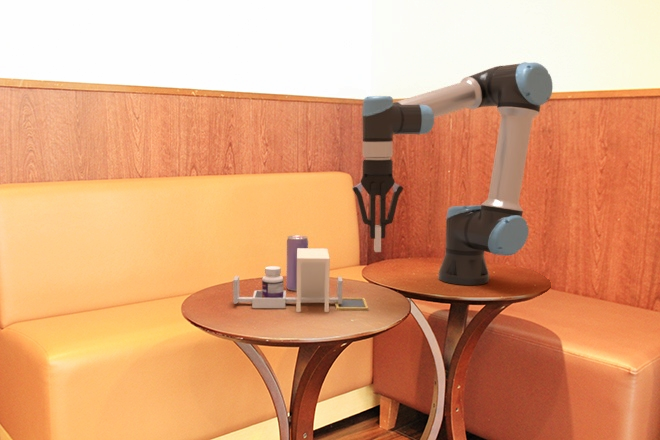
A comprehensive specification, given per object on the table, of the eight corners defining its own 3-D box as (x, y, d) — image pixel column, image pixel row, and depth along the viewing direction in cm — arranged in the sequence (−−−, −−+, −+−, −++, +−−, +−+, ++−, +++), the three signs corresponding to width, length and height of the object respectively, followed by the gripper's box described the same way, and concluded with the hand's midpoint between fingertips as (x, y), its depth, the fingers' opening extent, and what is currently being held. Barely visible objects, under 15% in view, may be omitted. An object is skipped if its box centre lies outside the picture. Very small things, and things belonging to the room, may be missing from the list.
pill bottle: (261, 302, 167) (261, 265, 166) (282, 301, 168) (282, 265, 167) (262, 307, 162) (262, 270, 161) (284, 307, 163) (284, 269, 161)
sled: (340, 300, 170) (341, 275, 169) (342, 308, 162) (343, 282, 161) (235, 299, 169) (235, 274, 168) (232, 307, 160) (232, 281, 160)
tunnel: (326, 298, 173) (327, 248, 171) (328, 312, 159) (329, 258, 157) (296, 297, 172) (297, 248, 170) (296, 312, 158) (296, 258, 157)
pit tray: (364, 300, 171) (364, 297, 171) (368, 310, 161) (368, 307, 161) (334, 299, 171) (334, 297, 171) (336, 310, 161) (336, 307, 161)
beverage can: (304, 292, 179) (305, 238, 177) (284, 290, 180) (284, 237, 178) (309, 287, 184) (310, 235, 182) (289, 286, 186) (290, 234, 184)
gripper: (401, 157, 165) (400, 247, 169) (350, 158, 165) (351, 248, 168) (405, 159, 158) (405, 253, 161) (352, 159, 157) (353, 254, 161)
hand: (377, 250), depth 165 cm, fingers closed
